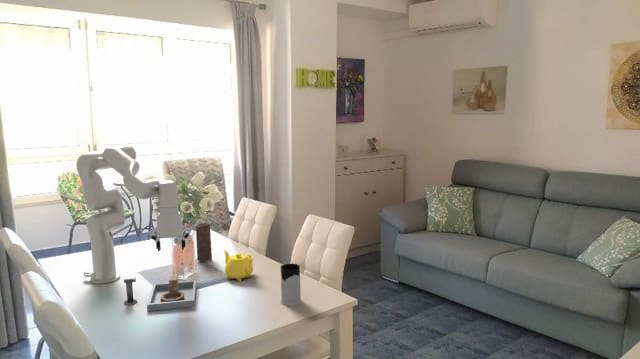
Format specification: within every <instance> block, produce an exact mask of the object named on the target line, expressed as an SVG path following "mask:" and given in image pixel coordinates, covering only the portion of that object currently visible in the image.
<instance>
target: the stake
mask: <svg viewBox="0 0 640 359" xmlns="http://www.w3.org/2000/svg"><path fill="white" fill-rule="evenodd" d="M136 282H137V278H136V277H133V278H132V277H131V278H124V279H123V284H125V287H126V288H125V289H126V300H124V302H123V305H125V306H132V305H135V304H137V303H138V300H137V299H135V298H134V290H133V289H134V287H133V283H136Z"/></svg>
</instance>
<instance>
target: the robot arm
mask: <svg viewBox="0 0 640 359" xmlns="http://www.w3.org/2000/svg"><path fill="white" fill-rule="evenodd" d="M136 159H137V152H136V150H135V148H133V146H131V145H128V144H119V145H111V146H109V147H106V148H105V149H103V150H96V151H89V152H84V153H82V154H81V155H79V157H78V158H77V160H76V171H77V173H78V176H79V178H80V181H81V185H82V189H83V190H82V191H83V196H84V199H85V200H84V201H85V203H86V207H87V208H88V209H89V210H90V211H92V212H95V211H101V210H104V209H107V210H106V211H101V212H98V213H94V214H92V215H90V216H89V217H88V218H87V220H86V224H85V225H86V229H87V232H88V235H89V241H90V242H89V243H90V249H91V259H92V260H91V262H92V269H93V270H91V271H84V272H83V276H84V277H85V278H90V279H89V280H90V282H91V283H92V284H97V285H99V284H100V285H101V284H110V283H113V282H116V281H117V280H119V279H120V277H121V274H120V273H119V272H117V268H116V255H115V245H114V239H113V238H112V236H111V235H110V234H109V232H112V231H116V230H119V229H121V228H122V227H124V226H125V224H126V214H125V209H124V208H125V207H124V204H123V198H122V195H121V193H120V190H118V189H117V188H116V187H114V186H107V187H106V186H105V187H104V181H103V179H102V177H101V175H100V174H99V173H98V172H97V171H103V170H108V169H114V170H115V171H116V172H117V173H118V174H119V175H121V177H122V180H123V184H124V187H125V188H126V190H127V191H128V192H129V193H131V194H132V195H133V196H134V197H135V198H137V199H140V200H148V199H152V198H157V197H158V207H156V208H155V212H158V214H157V217H156V218H157V219H156V220H157V221H156V227H155V228H153V229H151V230H149V231H148V234H149V236H150V237H151V239H152V240H153V241H154V242H155V247H156V248H155V249H157V251H158V252H160V251H161V239H168V238H170V239H173V238H180V239H181V250H185V248H186V239H188V237H189V236H190V234H191V232H192V228H190V227H187V226H185V225H183V220H182V216H181V212H180V211H179V199H178V198H179V197H178V184H177V181H175V180H170V179H169V180H168V179H163V178H153V179H147V180H143V181H142V180H140V179H139V177H136V176H137V174H138V172H139V171H140V168H141V167H140V163H139V162H138V161H137V160H136ZM183 231H186V233H185V235H184V232H183ZM154 233H156V234H157V235H155V234H154Z"/></svg>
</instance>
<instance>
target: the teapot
mask: <svg viewBox="0 0 640 359" xmlns="http://www.w3.org/2000/svg"><path fill="white" fill-rule="evenodd" d="M223 251H224V254H225V266H224V273H225V275H226V276H227V279H230V280H231V279H236V282H242V279H243V278H244V279H245V278H250V277H251V274H252V273H253V272H254V268H253V260H254V259H255V257H253V258H252V255H251V254H249V253H248V254H242V253H241V252H238V253H235V254H234V255H232V256H230V254H229V252H228V251H227V250H226V249H225V250H223Z"/></svg>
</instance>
